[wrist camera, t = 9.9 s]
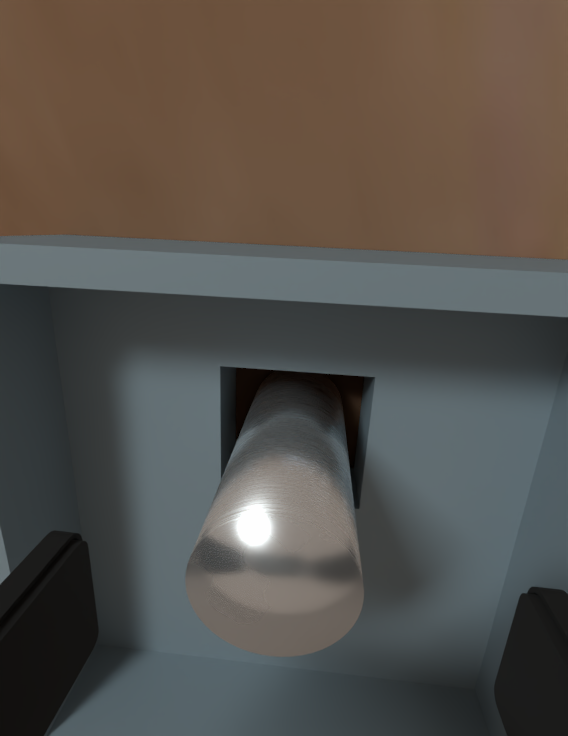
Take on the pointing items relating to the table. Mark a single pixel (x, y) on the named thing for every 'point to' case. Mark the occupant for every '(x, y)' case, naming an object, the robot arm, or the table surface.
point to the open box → (218, 438)
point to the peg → (282, 527)
